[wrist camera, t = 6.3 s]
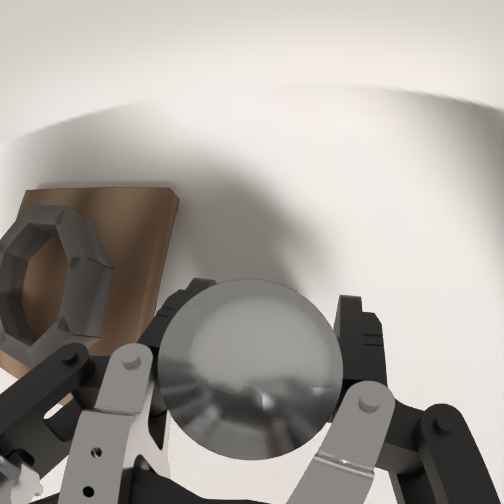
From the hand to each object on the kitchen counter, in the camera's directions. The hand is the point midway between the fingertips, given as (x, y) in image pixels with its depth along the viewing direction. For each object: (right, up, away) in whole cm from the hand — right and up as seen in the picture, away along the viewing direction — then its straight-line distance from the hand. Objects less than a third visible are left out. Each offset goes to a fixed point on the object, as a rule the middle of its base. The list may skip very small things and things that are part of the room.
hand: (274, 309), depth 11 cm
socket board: (-13, -1, +7) cm, 15 cm away
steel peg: (0, -3, +3) cm, 5 cm away
